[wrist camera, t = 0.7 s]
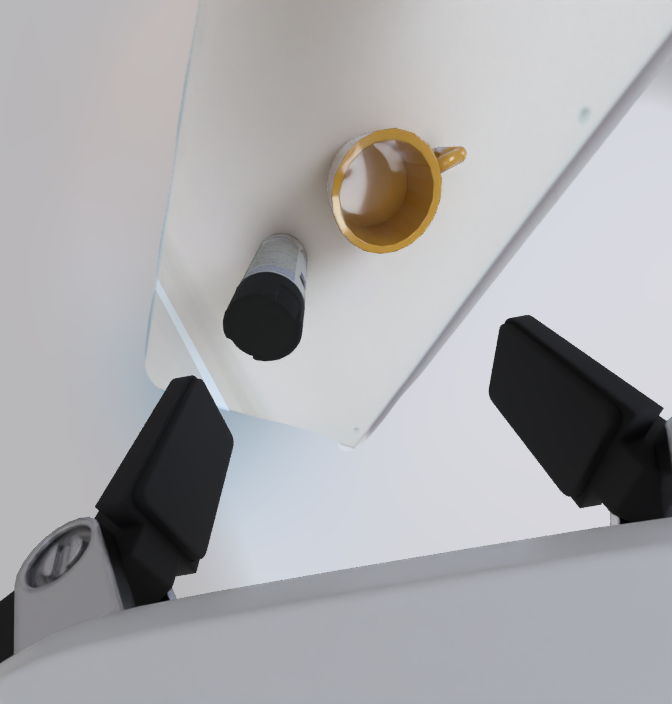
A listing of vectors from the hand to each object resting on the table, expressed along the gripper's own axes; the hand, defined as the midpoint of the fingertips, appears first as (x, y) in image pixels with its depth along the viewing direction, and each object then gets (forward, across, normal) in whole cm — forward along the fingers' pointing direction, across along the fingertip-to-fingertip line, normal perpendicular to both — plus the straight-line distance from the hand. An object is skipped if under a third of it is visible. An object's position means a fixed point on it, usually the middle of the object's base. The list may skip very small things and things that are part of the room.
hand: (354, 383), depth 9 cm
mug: (+34, -8, -3) cm, 35 cm away
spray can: (+35, +6, +4) cm, 35 cm away
